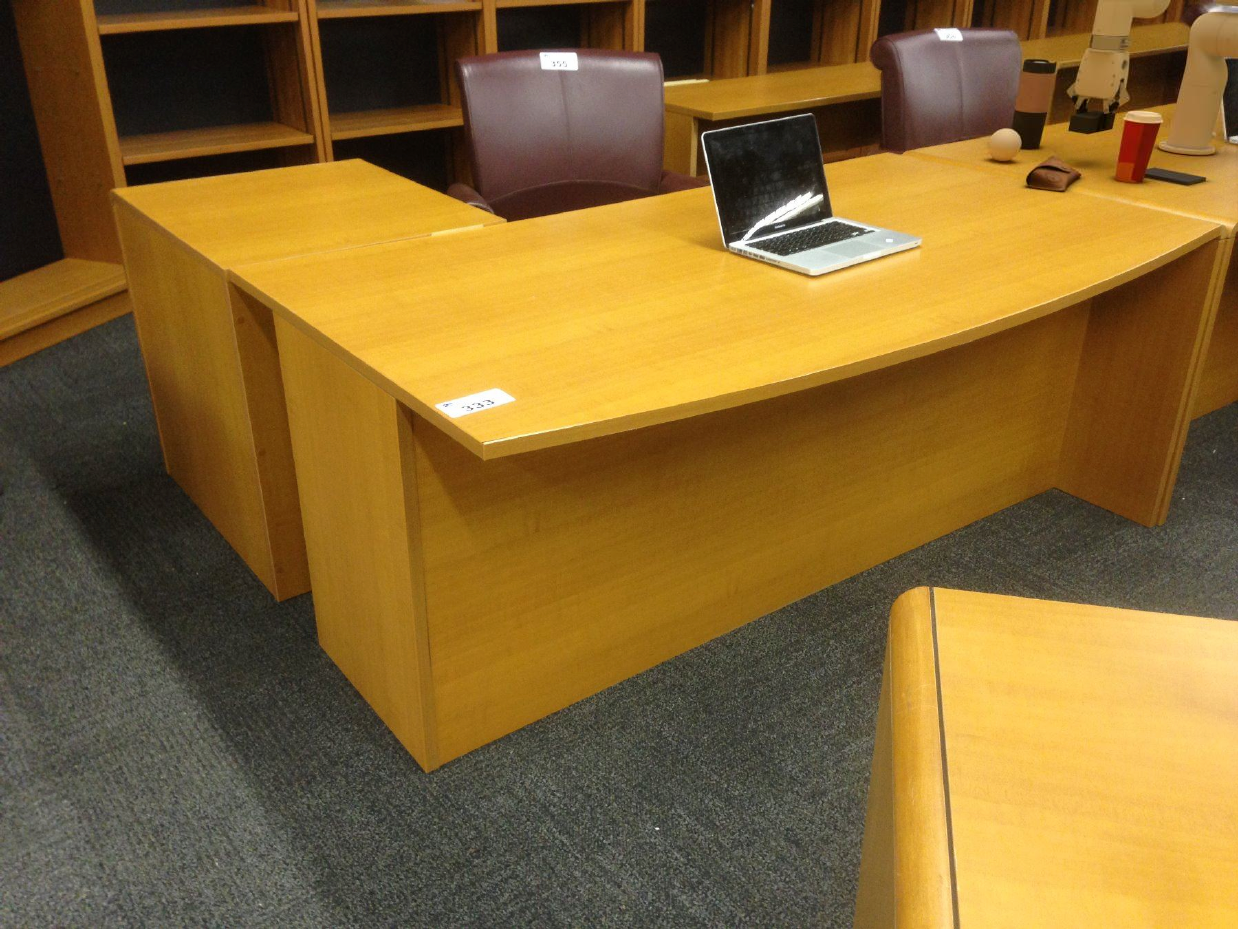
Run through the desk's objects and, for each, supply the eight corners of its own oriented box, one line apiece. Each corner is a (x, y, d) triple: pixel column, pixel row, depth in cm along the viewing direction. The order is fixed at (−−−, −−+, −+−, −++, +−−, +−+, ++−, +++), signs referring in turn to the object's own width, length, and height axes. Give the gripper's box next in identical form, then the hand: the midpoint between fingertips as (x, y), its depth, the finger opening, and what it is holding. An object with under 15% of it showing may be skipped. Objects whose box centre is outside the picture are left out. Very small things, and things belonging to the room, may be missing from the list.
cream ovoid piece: (1017, 165, 240) (1024, 132, 237) (984, 162, 243) (989, 129, 239) (1019, 157, 249) (1025, 125, 245) (986, 154, 251) (992, 122, 248)
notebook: (1153, 170, 238) (1154, 167, 238) (1205, 180, 230) (1206, 177, 229) (1134, 174, 234) (1135, 171, 234) (1187, 185, 226) (1188, 181, 225)
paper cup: (1146, 177, 231) (1162, 111, 225) (1149, 185, 225) (1166, 117, 218) (1107, 174, 234) (1123, 109, 227) (1110, 181, 227) (1126, 114, 221)
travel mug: (1006, 147, 259) (1022, 61, 250) (1009, 142, 265) (1024, 57, 256) (1039, 150, 256) (1057, 63, 247) (1040, 144, 263) (1058, 60, 253)
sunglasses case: (1067, 189, 217) (1055, 159, 216) (1033, 203, 222) (1022, 173, 221) (1083, 174, 231) (1072, 145, 230) (1051, 187, 235) (1040, 159, 234)
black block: (1092, 125, 244) (1095, 110, 242) (1112, 129, 241) (1116, 113, 239) (1067, 130, 239) (1071, 114, 237) (1088, 134, 235) (1091, 118, 234)
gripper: (1154, 46, 227) (1134, 132, 236) (1082, 38, 239) (1066, 121, 248) (1135, 48, 223) (1116, 136, 232) (1063, 41, 235) (1047, 125, 244)
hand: (1090, 127), depth 239 cm, fingers closed on black block, 5 cm apart
